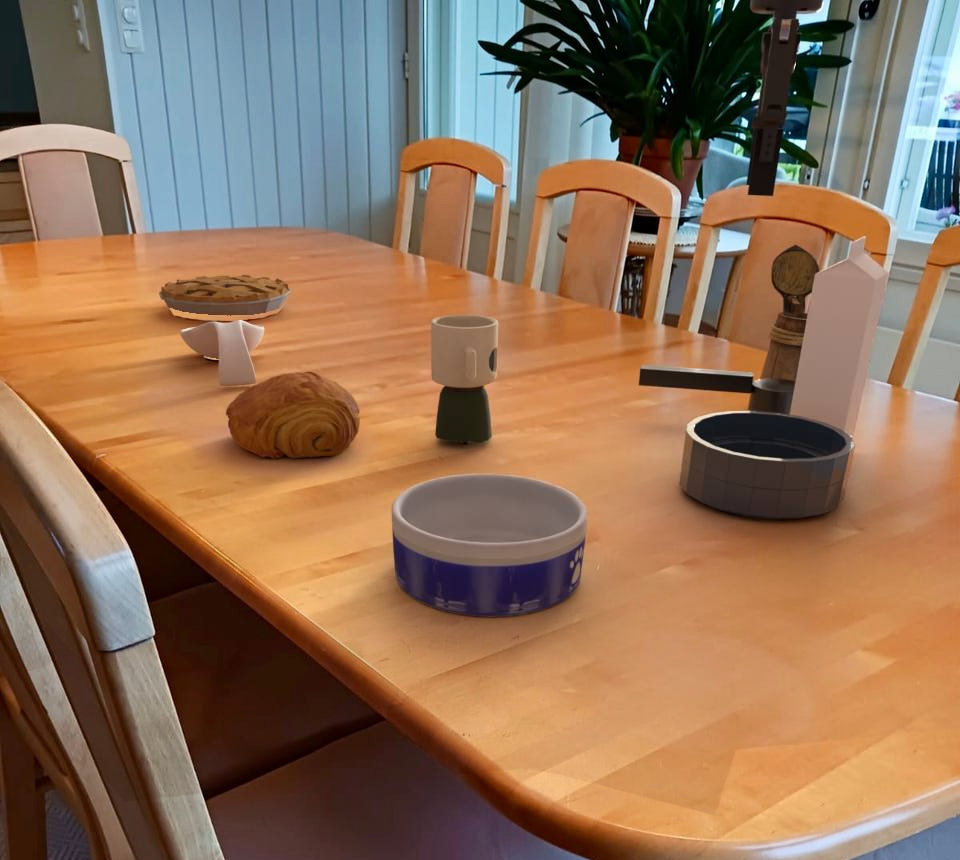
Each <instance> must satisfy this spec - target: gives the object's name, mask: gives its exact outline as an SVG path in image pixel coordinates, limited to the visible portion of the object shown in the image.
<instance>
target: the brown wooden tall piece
mask: <svg viewBox="0 0 960 860" xmlns="http://www.w3.org/2000/svg"><path fill="white" fill-rule="evenodd" d="M771 265H772V266H771V275H770V277H771V279H770V280H771V284H772V287H773V288H774V289H775V290H776V291H777V293H778V294H780V295H781V297H782V312H781V311H780V312H778V314H777V317H776V319H775V323H774V324H772V326H771V329H770V330H769V334H768V339H770V342H769V345H768V350H767V354H766V357H765V361H764V363H763V366H762V370H761V374H760V377H759V379H766V378H775V379H785V380H791V381H795V382H796V377H797V371H798V366H799V360H800V355H801V349H802V343H803V338H804V332H805V327H806V321H807V316H808V312H806V297H808V296H809V295H811V294H812V288H813V283H814V277H815V274H816V273H818V272H820V267H819V263H818V262H817V260H816V258H815V257H814V256H813V254H811V252H809V251H807V250H806V249H804V248H803V247H801V246H800V245H797V244H794V245H792V246H789V247H788V248H786V249H784V250H783V251H781V252H780V253H779V254H778V255H777V256H776V257H775V258H774V259H773V261H772V264H771Z"/></svg>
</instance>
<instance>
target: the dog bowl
mask: <svg viewBox="0 0 960 860" xmlns="http://www.w3.org/2000/svg"><path fill="white" fill-rule="evenodd" d="M391 525H392V526H391V531H392V533H391V534H392V550H393V562H394V564H393V565H394V575H395V579H396V582H397V584H398V586H399V587H400V589H402V590H403V591H404V592H405V593H406V594H407V595H408V596H410V597H411V599H412V598H413V599H414V600H415V601H418V602H420V603H421V604H424V605H427V606H429V607H431V608H434V609H438V610H440V611H444V612H449V613H452V614H453V613H454V614H458V615H465V616H474V617H489V618H492V617H493V618H494V617H512V616H520V615H526V614H530V613H531V614H532V613H536V612H539V611H543V610H547V609H549V608H552V607H554V606H557V605H558V604H560V603H563V602H564V601H565V600H567V599H569V598H570V597H571V596H572V595H574V593H575V592H576V590H577V589H578V588H579V586H580V582H581V576H582V569H583V564H584V563H583V561H584V554H585V547H586V538H587V527H588V526H587V525H588V509H587V507H586V505H585V504H584V502H583V500H581V499H580V498H579V497H577V496H576V495H575V494H574V493H573V492H571V491H570V490H567V489H565V488H563V487H561V486H558V485H555V484H554V483H550V482H547V481H544V480H540V479H536V478H533V477H532V478H531V477H526V476H520V475H515V474H514V475H513V474H502V473H467V474H466V473H465V474H464V473H463V474H455V475H446V476H442V477H437V478H432V479H429V480H425V481H422V482H419V483H417V484H414V485H413V486H410V487H408V488H407V489H404V490H403V491H402V492H401V493H399V494H398V495H397V497H395V498H394V500H393V503H392V504H391Z"/></svg>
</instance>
